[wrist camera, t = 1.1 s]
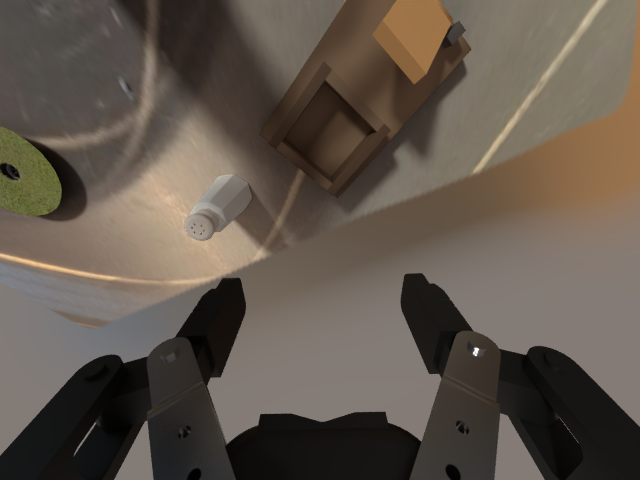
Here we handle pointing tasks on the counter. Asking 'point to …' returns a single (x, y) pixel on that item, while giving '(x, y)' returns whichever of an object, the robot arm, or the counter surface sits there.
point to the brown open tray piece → (352, 97)
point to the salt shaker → (218, 207)
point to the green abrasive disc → (26, 177)
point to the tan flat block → (413, 34)
